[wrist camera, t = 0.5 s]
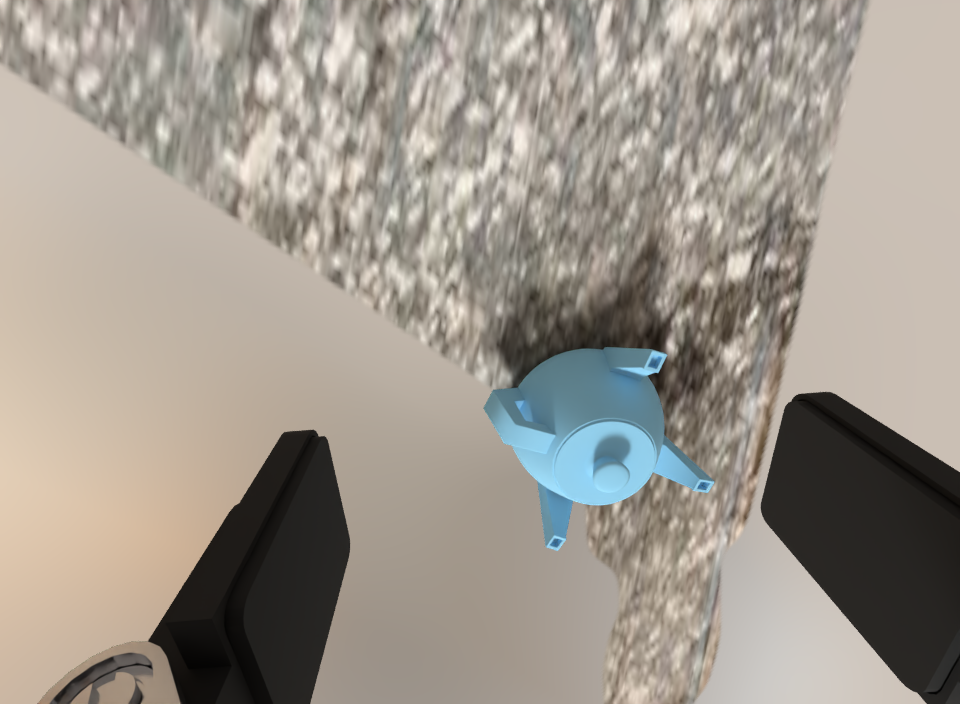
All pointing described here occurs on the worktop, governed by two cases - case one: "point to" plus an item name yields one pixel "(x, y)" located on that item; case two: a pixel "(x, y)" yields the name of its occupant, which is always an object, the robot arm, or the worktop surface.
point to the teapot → (590, 431)
